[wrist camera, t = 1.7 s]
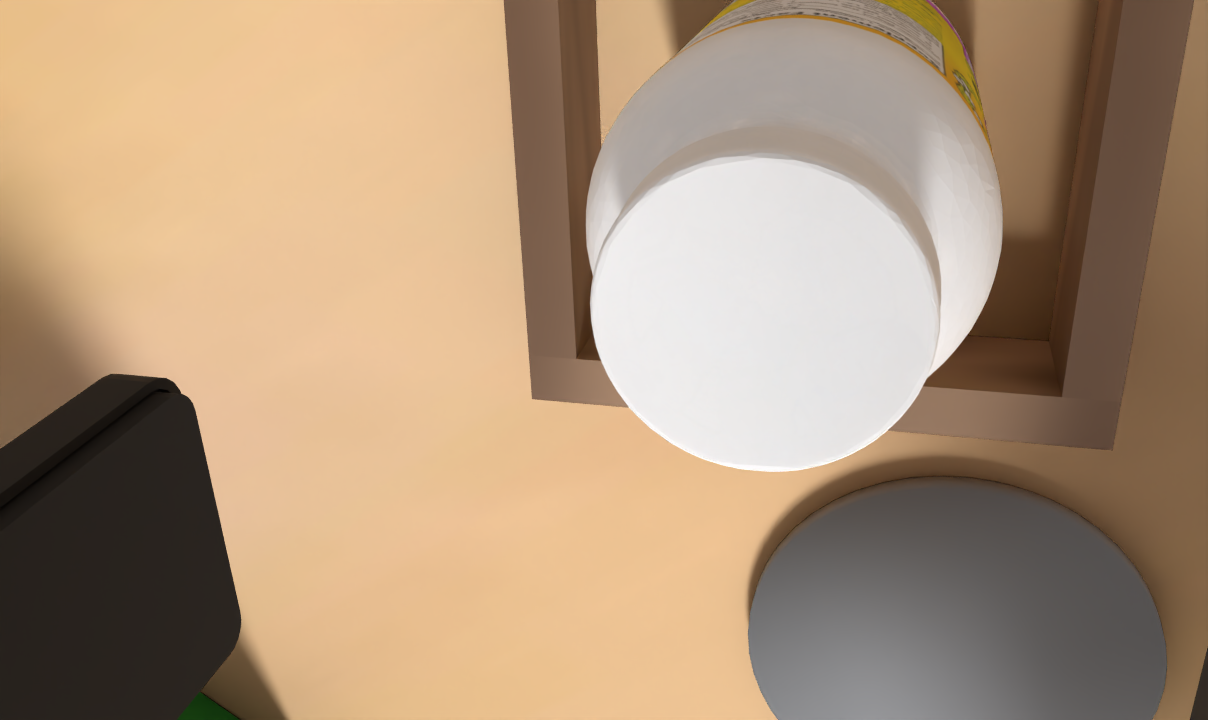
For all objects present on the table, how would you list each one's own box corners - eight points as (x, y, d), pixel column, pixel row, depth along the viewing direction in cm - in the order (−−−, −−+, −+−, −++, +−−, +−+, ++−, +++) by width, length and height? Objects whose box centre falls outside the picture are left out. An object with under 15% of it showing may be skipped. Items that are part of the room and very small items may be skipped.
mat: (1199, 499, 28) (1204, 513, 27) (1126, 822, 33) (1130, 839, 32) (754, 456, 30) (752, 467, 30) (747, 761, 35) (744, 775, 35)
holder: (1193, -198, 22) (1230, -200, 19) (1094, 389, 27) (1112, 450, 25) (537, -172, 25) (491, -170, 22) (565, 348, 31) (532, 399, 28)
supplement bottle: (904, 283, 27) (888, 607, 16) (651, 187, 28) (468, 435, 17) (1032, 16, 24) (1124, 189, 13) (744, -87, 25) (594, -6, 14)
